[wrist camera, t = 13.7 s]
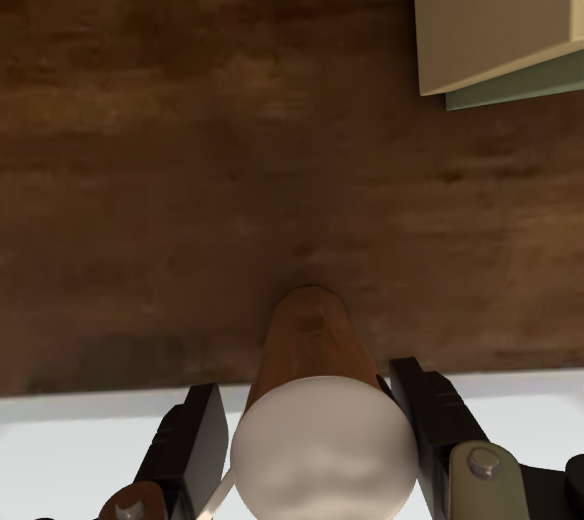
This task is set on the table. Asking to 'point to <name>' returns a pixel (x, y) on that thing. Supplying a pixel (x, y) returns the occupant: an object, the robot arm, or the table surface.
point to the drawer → (491, 38)
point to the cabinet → (523, 83)
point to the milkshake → (319, 424)
